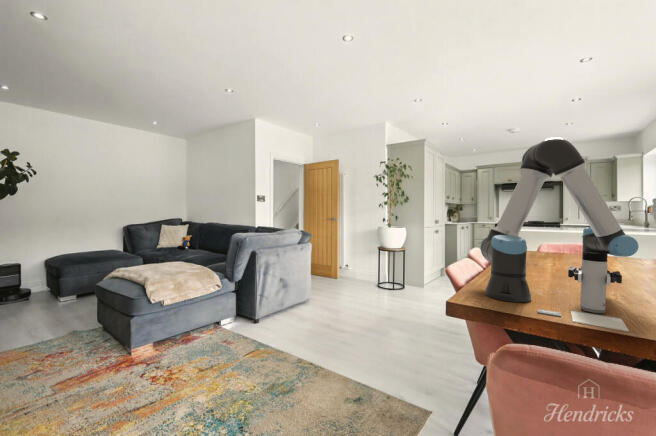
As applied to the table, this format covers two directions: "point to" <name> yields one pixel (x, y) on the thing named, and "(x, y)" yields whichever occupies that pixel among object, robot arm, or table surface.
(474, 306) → the table surface
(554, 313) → the plate
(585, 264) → the travel mug
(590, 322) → the notepad
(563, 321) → the table surface
